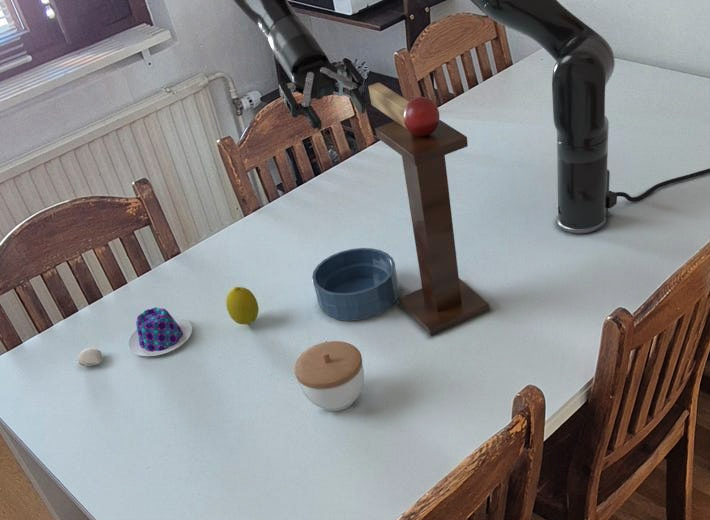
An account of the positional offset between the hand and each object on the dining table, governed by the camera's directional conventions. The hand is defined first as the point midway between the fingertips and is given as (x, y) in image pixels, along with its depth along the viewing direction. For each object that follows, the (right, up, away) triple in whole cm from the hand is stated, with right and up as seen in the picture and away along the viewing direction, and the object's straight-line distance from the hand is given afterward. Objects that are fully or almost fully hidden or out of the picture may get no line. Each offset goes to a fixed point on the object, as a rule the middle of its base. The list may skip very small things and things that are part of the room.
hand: (342, 118), depth 141 cm
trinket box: (0, -50, -8) cm, 50 cm away
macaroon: (-46, -42, +7) cm, 62 cm away
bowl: (+2, -29, +11) cm, 31 cm away
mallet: (+11, -7, -14) cm, 19 cm away
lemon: (-18, -34, +10) cm, 40 cm away
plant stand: (+18, -32, +6) cm, 37 cm away
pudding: (-35, -37, +10) cm, 51 cm away
